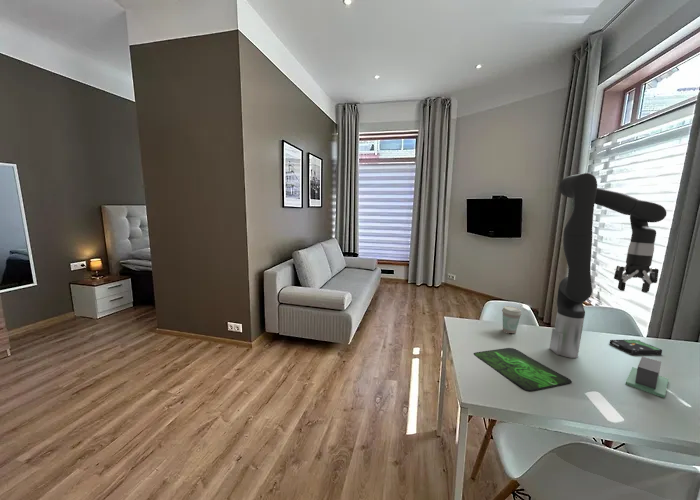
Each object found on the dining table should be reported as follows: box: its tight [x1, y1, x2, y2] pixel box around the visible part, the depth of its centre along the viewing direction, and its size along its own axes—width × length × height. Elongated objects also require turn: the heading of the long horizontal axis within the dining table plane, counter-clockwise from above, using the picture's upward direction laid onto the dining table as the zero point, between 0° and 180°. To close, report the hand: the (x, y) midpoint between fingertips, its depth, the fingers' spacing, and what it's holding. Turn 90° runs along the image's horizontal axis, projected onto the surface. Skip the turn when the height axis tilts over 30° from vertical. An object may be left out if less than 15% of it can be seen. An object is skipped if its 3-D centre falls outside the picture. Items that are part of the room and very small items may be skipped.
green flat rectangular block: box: [625, 366, 669, 399], centre depth 105 cm, size 10×16×2 cm, turn 130°
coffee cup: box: [501, 305, 523, 334], centre depth 145 cm, size 8×8×12 cm
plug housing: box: [635, 356, 662, 389], centre depth 105 cm, size 5×12×6 cm, turn 130°
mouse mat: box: [473, 347, 573, 392], centre depth 113 cm, size 27×22×1 cm
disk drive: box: [609, 339, 663, 356], centre depth 131 cm, size 10×3×15 cm
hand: (632, 291), depth 122 cm, fingers open, 8 cm apart
